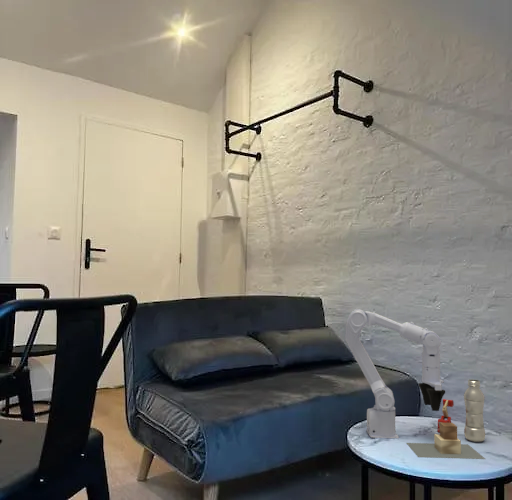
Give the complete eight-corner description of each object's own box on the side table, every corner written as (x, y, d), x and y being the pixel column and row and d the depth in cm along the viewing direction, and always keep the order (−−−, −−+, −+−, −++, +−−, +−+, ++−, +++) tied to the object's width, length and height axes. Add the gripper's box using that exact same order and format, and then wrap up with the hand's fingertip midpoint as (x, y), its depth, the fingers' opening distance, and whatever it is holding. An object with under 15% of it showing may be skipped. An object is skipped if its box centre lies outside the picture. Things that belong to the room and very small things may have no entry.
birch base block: (441, 453, 148) (440, 440, 148) (434, 447, 154) (434, 434, 154) (460, 454, 148) (460, 440, 148) (453, 447, 154) (453, 434, 154)
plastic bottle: (488, 441, 162) (487, 380, 163) (481, 445, 157) (480, 383, 158) (468, 436, 166) (468, 377, 167) (460, 441, 161) (460, 380, 163)
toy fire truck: (436, 433, 170) (436, 405, 170) (444, 423, 181) (444, 397, 182) (446, 434, 168) (446, 406, 169) (454, 425, 180) (453, 398, 180)
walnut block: (444, 439, 149) (444, 426, 150) (439, 435, 153) (439, 422, 154) (457, 439, 149) (457, 426, 149) (452, 435, 153) (452, 422, 153)
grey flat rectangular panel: (418, 458, 145) (418, 457, 145) (406, 443, 158) (406, 442, 158) (485, 460, 144) (485, 459, 144) (468, 445, 157) (468, 444, 157)
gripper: (450, 370, 157) (451, 413, 156) (435, 363, 172) (436, 402, 171) (428, 370, 157) (429, 413, 156) (415, 363, 172) (416, 402, 171)
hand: (431, 407), depth 164 cm, fingers open, 7 cm apart
